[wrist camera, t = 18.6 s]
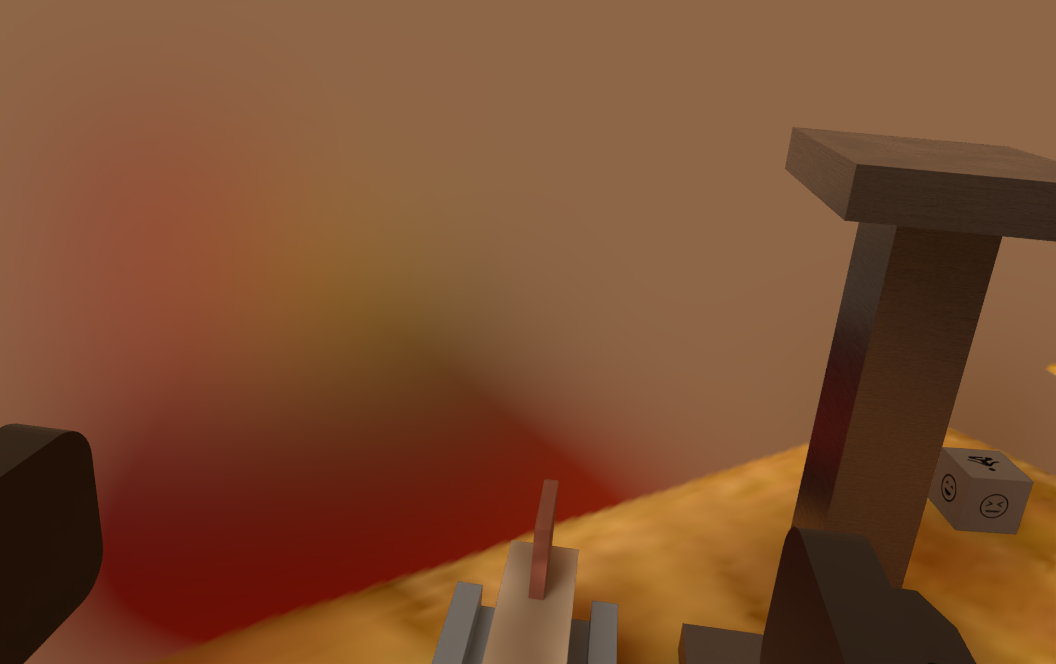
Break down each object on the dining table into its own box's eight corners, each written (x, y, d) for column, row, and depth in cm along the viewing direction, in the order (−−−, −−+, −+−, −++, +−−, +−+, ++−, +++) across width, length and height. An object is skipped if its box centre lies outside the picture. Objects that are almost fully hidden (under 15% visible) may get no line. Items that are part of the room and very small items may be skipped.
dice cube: (984, 501, 71) (1000, 451, 70) (1015, 535, 67) (1033, 481, 65) (927, 497, 71) (942, 447, 70) (955, 530, 67) (971, 477, 65)
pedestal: (692, 831, 39) (828, 162, 28) (678, 649, 51) (771, 124, 40) (949, 873, 38) (1197, 196, 27) (875, 677, 50) (1027, 147, 39)
